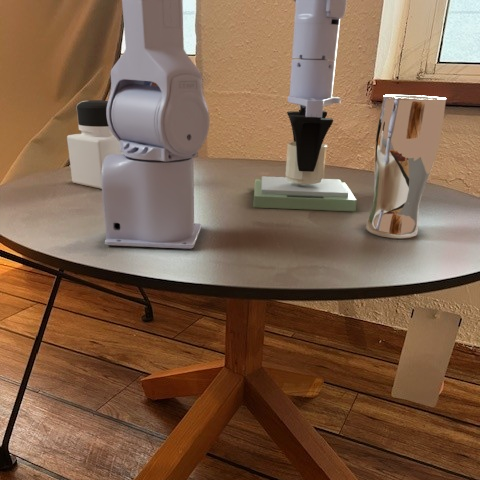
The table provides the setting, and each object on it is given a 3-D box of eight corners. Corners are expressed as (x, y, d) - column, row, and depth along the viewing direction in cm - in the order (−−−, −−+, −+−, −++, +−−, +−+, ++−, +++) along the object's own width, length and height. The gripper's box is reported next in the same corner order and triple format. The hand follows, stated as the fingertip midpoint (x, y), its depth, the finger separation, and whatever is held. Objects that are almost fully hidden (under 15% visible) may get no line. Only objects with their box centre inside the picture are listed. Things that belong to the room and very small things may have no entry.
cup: (285, 183, 70) (288, 146, 68) (284, 175, 75) (286, 140, 73) (325, 185, 70) (329, 147, 68) (321, 177, 75) (324, 142, 73)
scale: (253, 207, 69) (254, 191, 68) (254, 189, 79) (255, 175, 78) (355, 211, 69) (357, 195, 68) (344, 193, 79) (345, 178, 78)
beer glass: (351, 225, 63) (369, 94, 56) (398, 221, 65) (421, 95, 58) (382, 242, 57) (407, 99, 50) (433, 237, 59) (463, 99, 53)
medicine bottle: (136, 182, 81) (131, 101, 75) (103, 190, 76) (95, 103, 70) (105, 176, 84) (98, 98, 79) (71, 183, 79) (61, 100, 74)
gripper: (353, 60, 59) (339, 178, 65) (337, 60, 72) (326, 159, 78) (293, 59, 59) (285, 176, 65) (287, 59, 72) (281, 157, 78)
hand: (304, 166), depth 72 cm, fingers closed on cup, 5 cm apart
